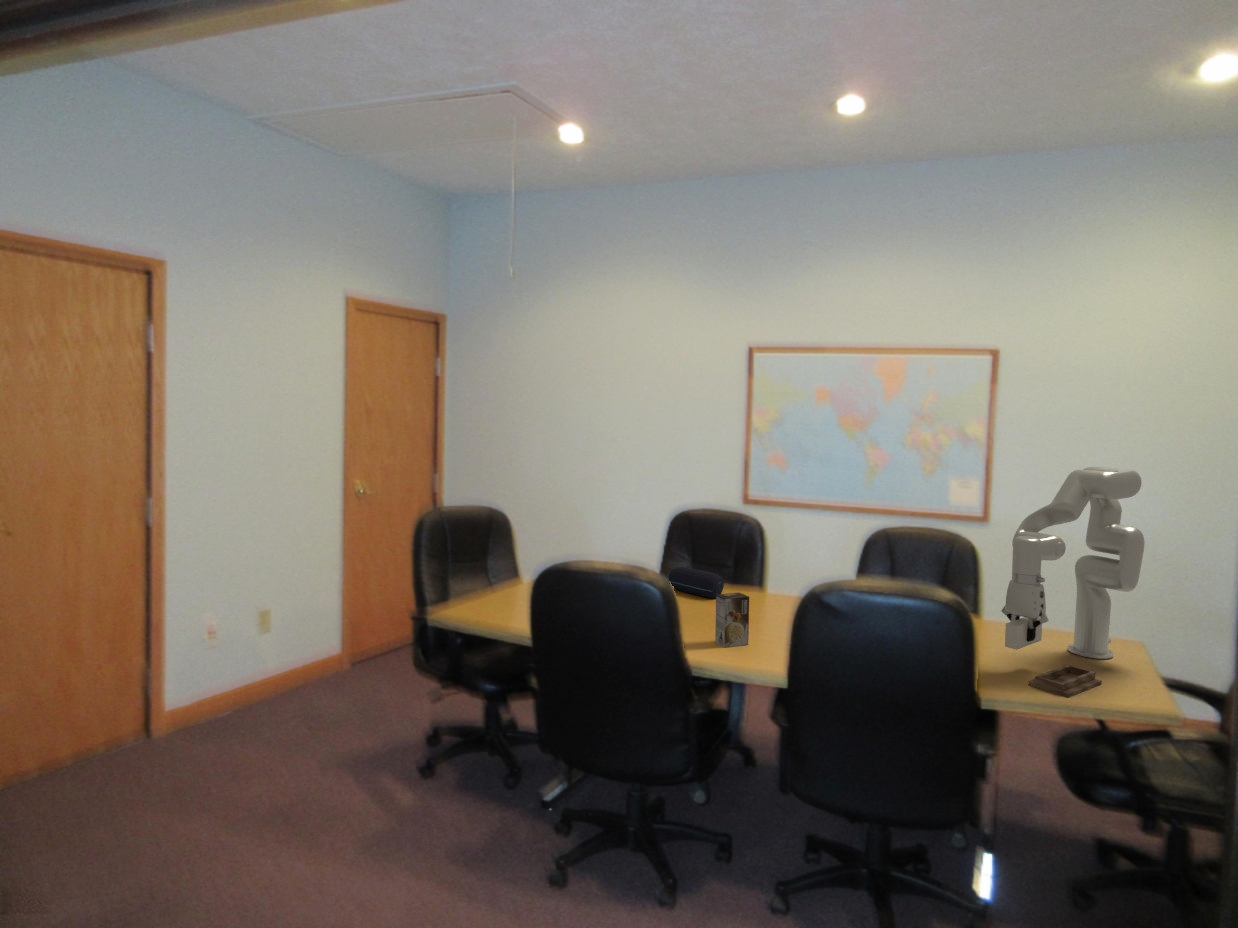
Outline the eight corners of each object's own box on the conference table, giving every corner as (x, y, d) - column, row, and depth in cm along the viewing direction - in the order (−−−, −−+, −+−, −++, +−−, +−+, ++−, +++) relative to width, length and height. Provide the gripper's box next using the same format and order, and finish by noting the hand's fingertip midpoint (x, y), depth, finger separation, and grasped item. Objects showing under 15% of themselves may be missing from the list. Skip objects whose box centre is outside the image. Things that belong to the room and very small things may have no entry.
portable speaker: (728, 597, 314) (728, 573, 313) (712, 601, 307) (712, 577, 306) (681, 586, 332) (681, 563, 331) (665, 590, 325) (666, 566, 324)
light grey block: (1029, 637, 238) (1030, 614, 237) (1041, 640, 235) (1042, 617, 234) (1004, 646, 230) (1005, 623, 229) (1016, 649, 227) (1017, 626, 226)
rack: (1061, 672, 232) (1062, 662, 232) (1101, 684, 223) (1102, 673, 223) (1028, 684, 221) (1028, 674, 221) (1068, 697, 212) (1069, 686, 212)
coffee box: (738, 639, 259) (740, 591, 257) (748, 645, 253) (750, 596, 252) (714, 642, 255) (715, 593, 254) (724, 647, 249) (725, 598, 248)
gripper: (1061, 582, 226) (1058, 643, 228) (1005, 571, 239) (1003, 629, 241) (1047, 585, 221) (1045, 648, 223) (992, 574, 235) (989, 634, 237)
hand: (1023, 638), depth 232 cm, fingers closed on light grey block, 3 cm apart
